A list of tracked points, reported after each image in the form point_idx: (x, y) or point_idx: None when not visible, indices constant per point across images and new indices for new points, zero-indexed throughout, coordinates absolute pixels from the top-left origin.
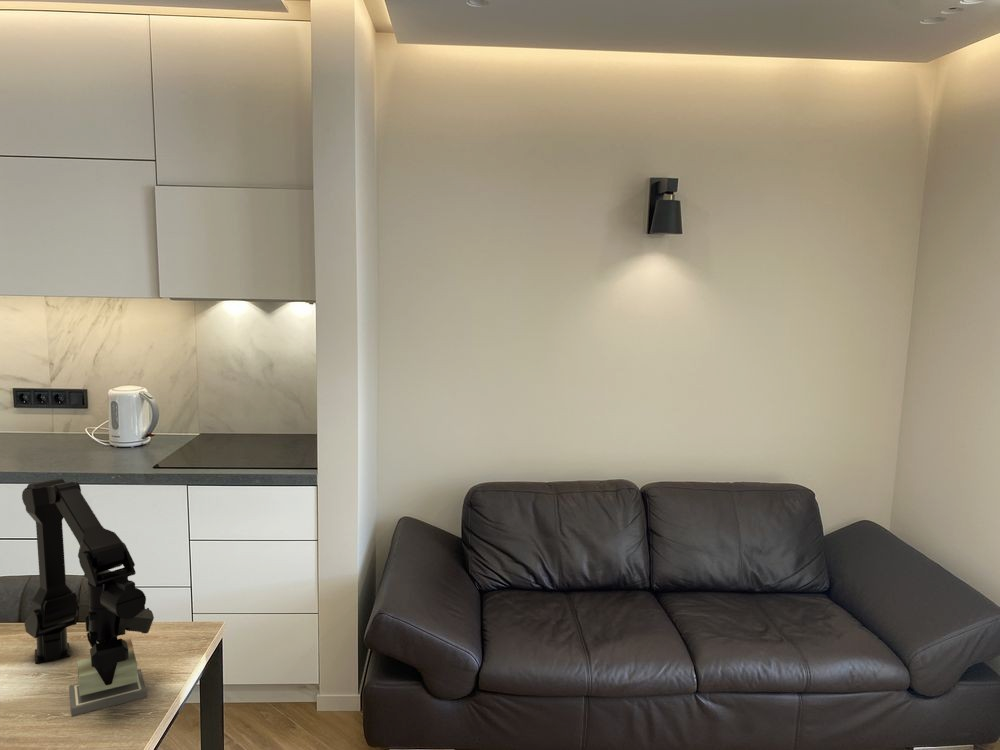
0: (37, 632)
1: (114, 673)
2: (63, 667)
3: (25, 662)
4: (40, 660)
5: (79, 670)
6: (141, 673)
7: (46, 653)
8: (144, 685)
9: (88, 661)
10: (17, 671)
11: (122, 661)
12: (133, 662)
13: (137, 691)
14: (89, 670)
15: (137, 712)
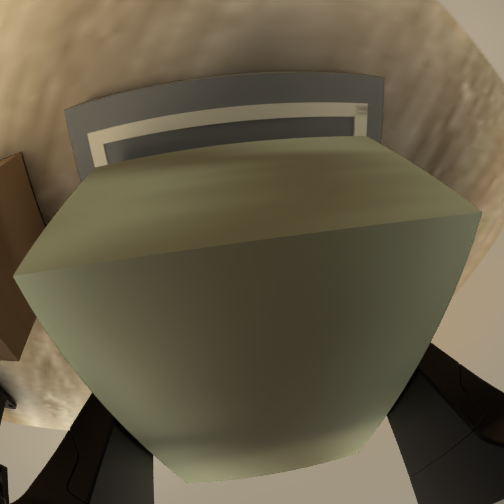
0: (4, 482)
1: (435, 346)
2: (14, 369)
3: (13, 410)
4: (7, 403)
5: (297, 468)
6: (128, 96)
7: (1, 415)
8: (323, 78)
9: (209, 469)
10: (46, 421)
11: (341, 353)
12: (439, 248)
13: (372, 127)
14: (325, 449)
15: (443, 134)
